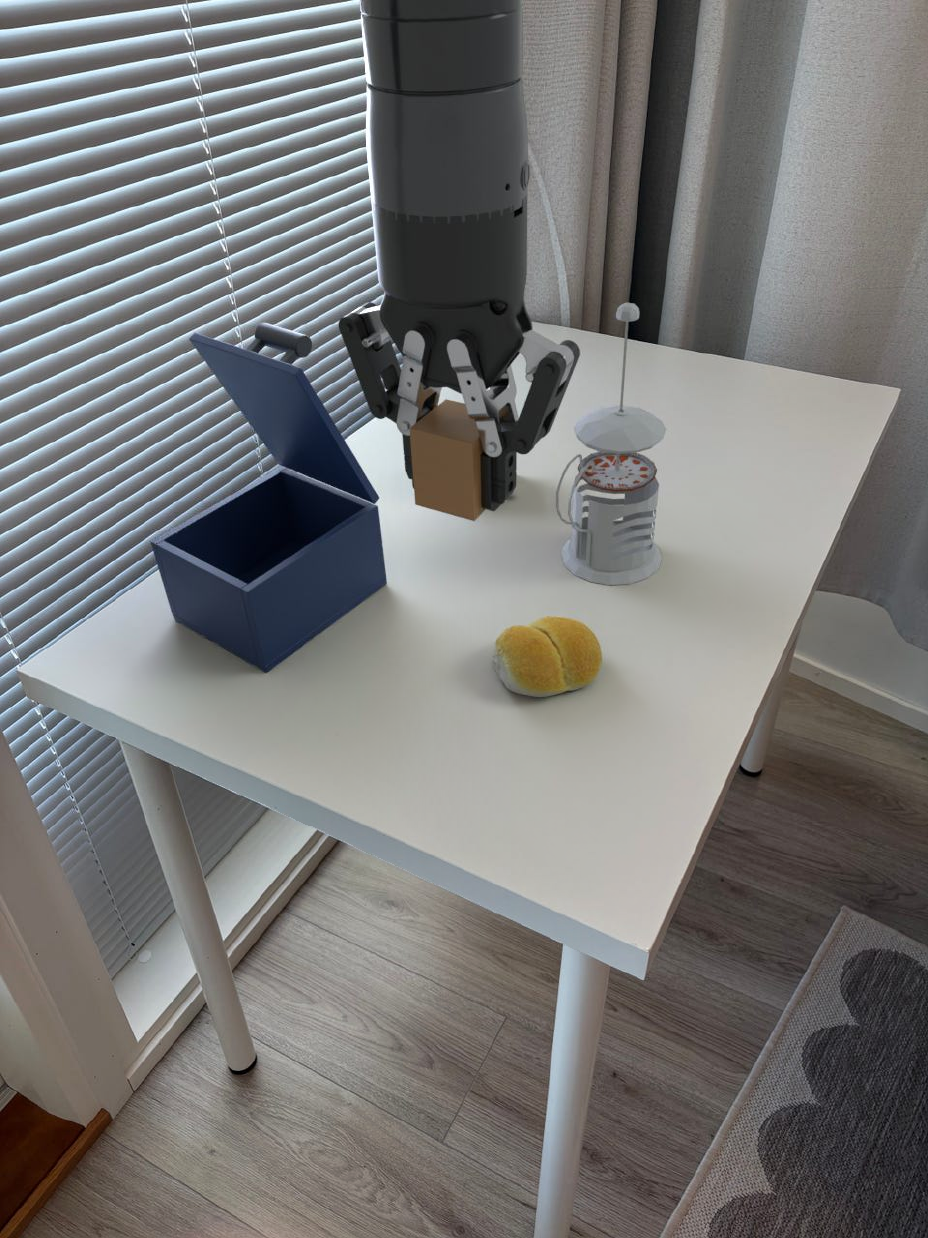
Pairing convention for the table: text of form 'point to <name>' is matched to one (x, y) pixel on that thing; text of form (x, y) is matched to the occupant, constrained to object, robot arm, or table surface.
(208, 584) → the box
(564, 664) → the bread roll
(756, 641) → the table surface
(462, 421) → the block
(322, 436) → the lid
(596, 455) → the french press
